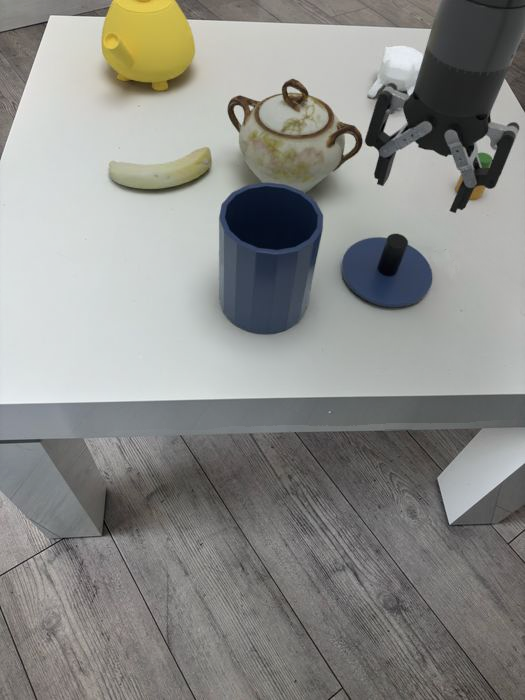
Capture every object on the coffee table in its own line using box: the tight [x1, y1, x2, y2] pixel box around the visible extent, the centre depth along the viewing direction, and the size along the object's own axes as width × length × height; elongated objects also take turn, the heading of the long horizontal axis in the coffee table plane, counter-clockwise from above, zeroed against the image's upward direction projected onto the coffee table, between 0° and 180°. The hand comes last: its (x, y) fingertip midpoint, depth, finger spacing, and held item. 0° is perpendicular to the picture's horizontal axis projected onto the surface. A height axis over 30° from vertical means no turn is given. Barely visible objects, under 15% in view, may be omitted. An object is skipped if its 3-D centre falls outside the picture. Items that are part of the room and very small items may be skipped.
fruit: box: [108, 146, 212, 190], centre depth 78 cm, size 7×15×3 cm, turn 102°
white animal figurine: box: [367, 45, 424, 99], centre depth 94 cm, size 8×8×15 cm
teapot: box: [100, 0, 196, 92], centre depth 89 cm, size 20×16×14 cm
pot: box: [218, 182, 324, 335], centre depth 62 cm, size 11×11×14 cm
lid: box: [341, 233, 433, 308], centre depth 69 cm, size 12×12×6 cm
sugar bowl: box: [226, 78, 364, 194], centre depth 76 cm, size 20×15×15 cm
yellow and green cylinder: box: [455, 152, 493, 201], centre depth 80 cm, size 4×4×6 cm
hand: (418, 194), depth 61 cm, fingers open, 8 cm apart
